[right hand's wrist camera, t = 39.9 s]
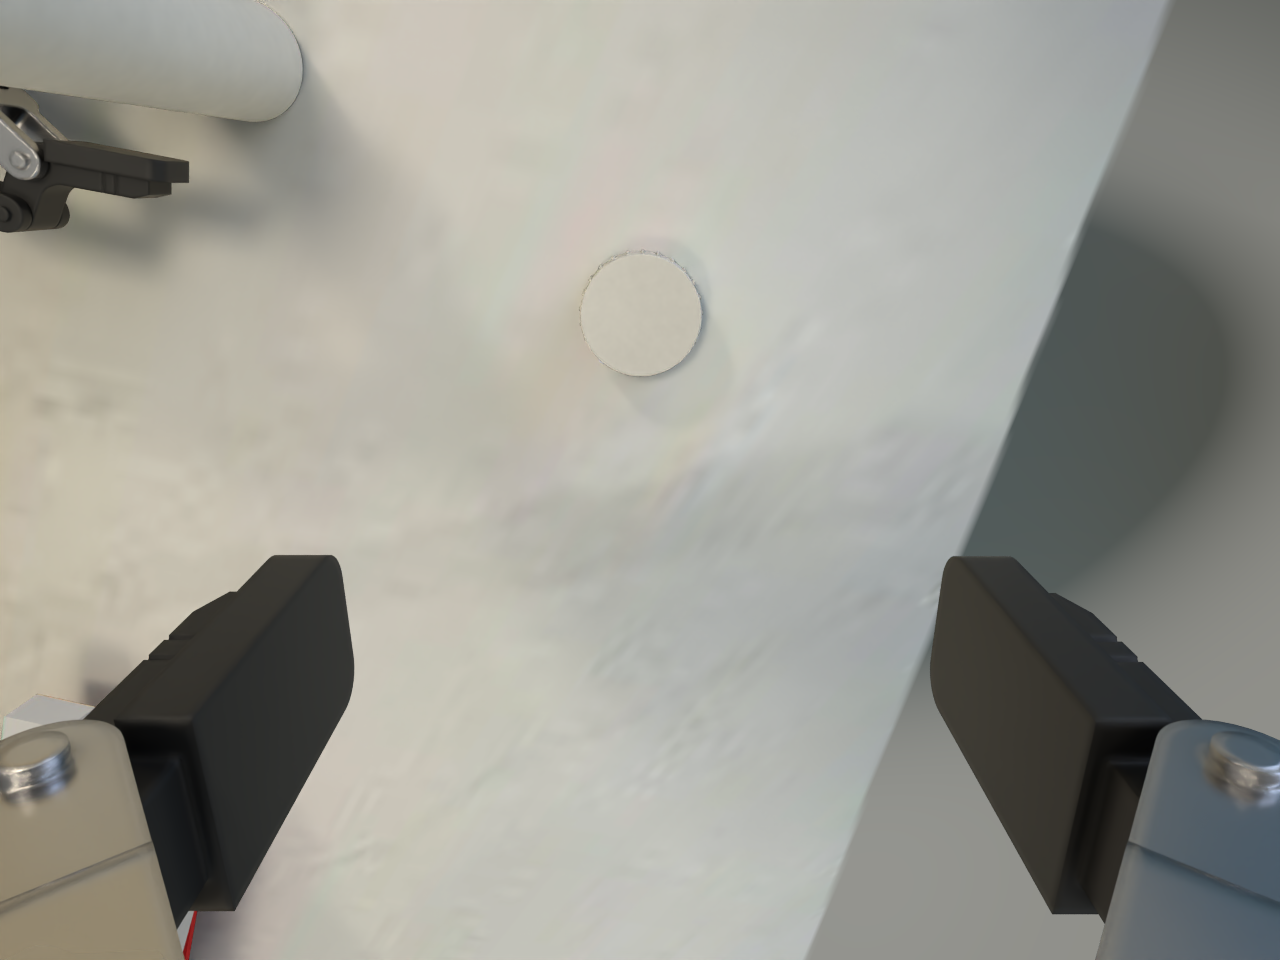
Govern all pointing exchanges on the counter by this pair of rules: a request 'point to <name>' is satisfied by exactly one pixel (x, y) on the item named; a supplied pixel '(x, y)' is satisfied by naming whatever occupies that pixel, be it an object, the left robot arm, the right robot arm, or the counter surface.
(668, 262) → the lid
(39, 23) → the white cylindrical bottle
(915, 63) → the counter surface
